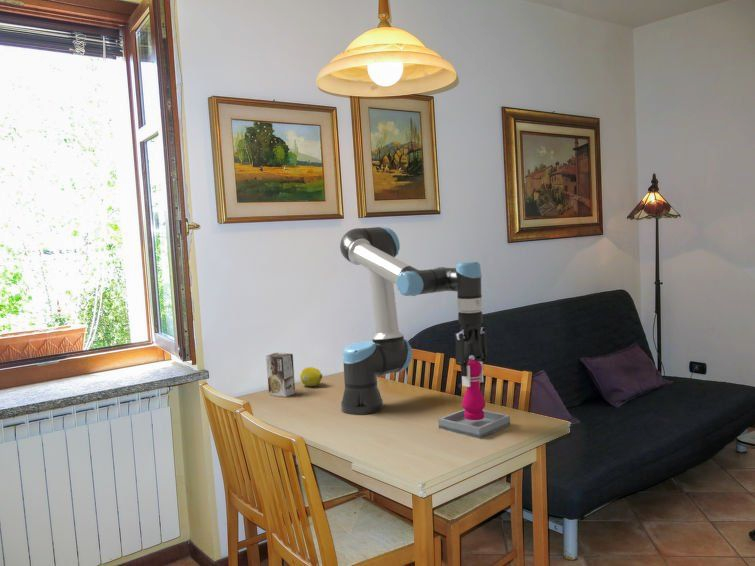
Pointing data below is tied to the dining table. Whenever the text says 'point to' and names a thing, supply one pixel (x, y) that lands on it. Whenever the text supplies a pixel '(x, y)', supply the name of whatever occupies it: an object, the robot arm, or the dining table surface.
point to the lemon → (310, 376)
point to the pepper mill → (474, 393)
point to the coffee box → (280, 374)
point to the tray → (474, 423)
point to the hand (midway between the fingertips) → (472, 383)
